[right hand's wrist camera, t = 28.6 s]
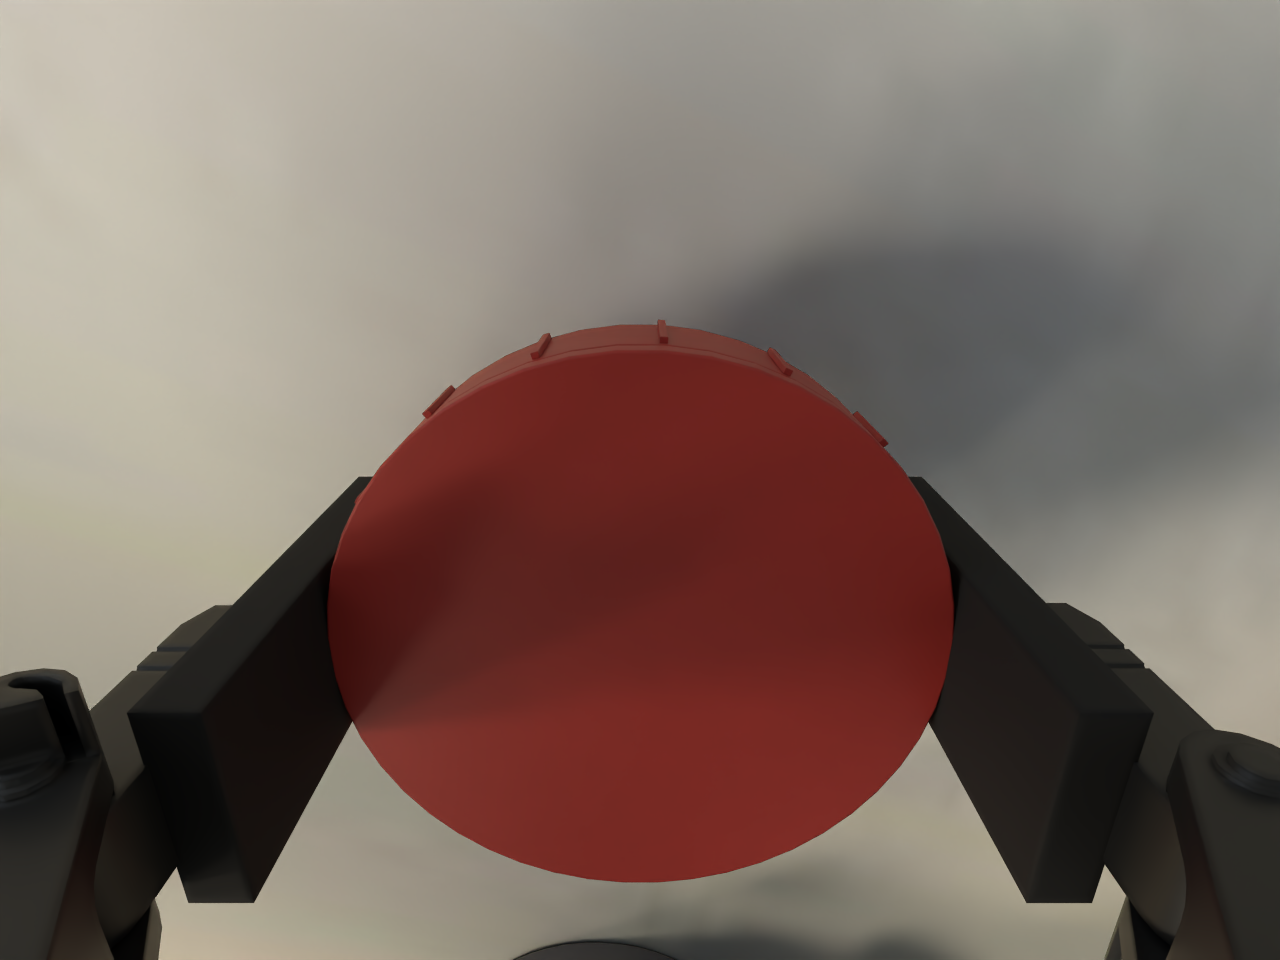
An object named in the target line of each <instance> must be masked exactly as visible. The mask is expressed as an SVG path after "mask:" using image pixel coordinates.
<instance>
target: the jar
mask: <svg viewBox="0 0 1280 960" xmlns="http://www.w3.org/2000/svg"><path fill="white" fill-rule="evenodd" d="M515 960H675V959H673V958H671V957H668V956H665V955H663V954H660V953H658V952H655V951H651V950H647V949H644V948H640V947H635V946H630V945H624V944H615V943H603V942H598V943H575V944H565V945H560V946H555V947H550V948H546V949H542V950H539V951H536V952H532V953H529V954H527V955H525V956H522V957H520V958H517V959H515Z"/></svg>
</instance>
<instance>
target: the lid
mask: <svg viewBox="0 0 1280 960" xmlns="http://www.w3.org/2000/svg"><path fill="white" fill-rule="evenodd" d="M423 416H424V417H425V419H424V420H423V421H422V422H421V423H420V424H419V425H418V426H417V427H416V429H415V430H414V431H413V432H412V433H411V434H410V435H409V436H408V437H407V438H406V439H405V440H404V441H403V442H402V443H401V445H400V446H399V447H398V448H397V449H396V450H395V451H394V452H393V453H392V454H391V455H390V456H389V457H388V459H387V460H386V461H385V462H384V463H383V464H382V465H381V466H380V467H379V469H378V470H377V472H376V473H375V475H374V476H373V478H372V479H371V481H370V482H369V484H368V485H367V487H366V488H365V489H364V490H363V491H362V492H361V493H360V495H359V496H358V497H357V498H356V500H355V507H354V509H353V511H352V513H351V515H350V517H349V519H348V521H347V524H346V526H345V528H344V530H343V532H342V534H341V538H340V541H339V545H338V548H337V552H336V555H335V558H334V562H333V565H332V569H331V576H330V584H329V592H328V600H327V625H328V640H329V646H330V651H331V656H332V661H333V667H334V672H335V677H336V681H337V684H338V687H339V690H340V693H341V696H342V699H343V701H344V704H345V707H346V709H347V711H348V713H349V715H350V717H351V719H352V721H353V723H354V725H355V727H356V729H357V731H358V733H359V735H360V736H361V738H362V740H363V741H364V743H365V744H366V745H367V747H368V748H369V750H370V751H371V753H372V754H373V755H374V757H375V758H376V760H377V761H378V763H379V764H380V765H381V767H382V768H383V769H384V770H385V771H386V772H387V773H388V774H389V775H390V777H391V778H392V779H393V780H394V781H395V782H396V783H397V784H398V785H399V787H400V788H401V789H402V790H403V791H404V792H405V793H406V794H408V795H409V796H410V797H411V798H412V799H413V800H415V801H416V802H417V803H418V804H419V805H420V806H421V807H423V808H424V809H425V810H426V811H427V812H428V813H430V814H431V815H432V816H434V817H435V818H437V819H438V820H440V821H441V822H443V823H444V824H446V825H447V826H448V827H450V828H451V829H453V830H454V831H456V832H457V833H459V834H461V835H463V836H465V837H466V838H468V839H470V840H472V841H474V842H476V843H478V844H479V845H481V846H483V847H485V848H487V849H489V850H491V851H494V852H496V853H499V854H501V855H504V856H506V857H508V858H511V859H513V860H516V861H518V862H521V863H524V864H528V865H531V866H534V867H538V868H541V869H544V870H548V871H551V872H555V873H560V874H565V875H570V876H575V877H581V878H586V879H594V880H604V881H615V882H666V881H677V880H688V879H695V878H701V877H706V876H711V875H716V874H722V873H727V872H730V871H734V870H737V869H740V868H744V867H747V866H751V865H754V864H757V863H761V862H763V861H766V860H768V859H771V858H773V857H775V856H778V855H780V854H783V853H785V852H788V851H790V850H793V849H794V848H796V847H798V846H800V845H802V844H804V843H806V842H808V841H809V840H811V839H813V838H815V837H817V836H819V835H821V834H823V833H824V832H826V831H827V830H829V829H830V828H831V827H833V826H834V825H836V824H837V823H839V822H840V821H842V820H843V819H845V818H846V817H848V816H849V815H851V814H852V813H853V812H854V811H855V810H856V809H858V808H859V807H860V806H861V805H862V804H863V803H865V802H866V801H867V800H868V799H869V798H870V797H872V796H873V795H874V794H875V793H876V792H877V791H878V790H879V789H880V788H881V787H882V786H883V785H884V784H885V783H886V781H887V780H888V779H889V778H890V777H891V776H892V775H893V774H894V773H895V772H896V770H897V769H898V768H899V767H900V766H901V765H902V763H903V762H904V760H905V759H906V757H907V756H908V755H909V753H910V752H911V750H912V749H913V747H914V746H915V745H916V743H917V742H918V740H919V739H920V737H921V735H922V733H923V731H924V729H925V727H926V725H927V724H928V722H929V720H930V718H931V716H932V714H933V712H934V710H935V708H936V705H937V702H938V699H939V697H940V694H941V691H942V688H943V685H944V681H945V677H946V671H947V666H948V661H949V656H950V650H951V645H952V639H953V632H954V598H953V590H952V582H951V574H950V568H949V565H948V561H947V558H946V554H945V551H944V547H943V544H942V540H941V537H940V534H939V532H938V530H937V527H936V525H935V523H934V521H933V519H932V517H931V515H930V513H929V510H928V508H927V506H926V504H925V502H924V500H923V498H922V497H921V495H920V494H919V492H918V491H917V489H916V488H915V486H914V485H913V483H912V482H911V480H910V479H909V478H908V476H907V475H906V473H905V472H904V470H903V469H902V467H901V466H900V465H899V464H898V463H897V462H896V461H895V459H894V458H893V457H892V456H891V455H890V454H889V453H888V452H887V451H886V450H885V449H884V447H885V446H886V445H887V444H888V442H887V441H886V440H885V439H884V438H883V437H882V436H881V435H880V434H879V433H878V432H877V431H876V430H875V429H874V428H873V427H872V426H871V425H870V424H869V423H868V422H867V421H866V419H865V418H864V417H863V416H862V415H861V414H860V413H859V412H858V411H857V412H855V413H854V414H853V415H852V414H851V413H850V411H849V410H848V409H847V408H846V407H845V406H844V405H843V404H842V403H841V402H840V401H839V400H838V399H837V398H836V397H835V396H833V395H832V394H831V393H830V392H828V391H827V390H826V389H825V388H823V387H822V386H821V385H820V384H818V383H817V382H816V381H815V380H814V379H812V378H811V377H810V376H809V375H807V374H805V373H803V372H802V371H800V370H798V369H797V368H795V367H793V366H792V365H790V364H788V363H787V362H785V361H784V359H783V358H782V357H781V356H780V355H779V353H778V352H777V351H776V350H774V349H772V348H769V350H768V352H765V351H763V350H761V349H758V348H756V347H753V346H751V345H749V344H746V343H744V342H742V341H739V340H735V339H732V338H728V337H724V336H721V335H717V334H713V333H710V332H706V331H702V330H696V329H689V328H681V327H674V326H666V322H665V320H658V324H657V325H615V326H607V327H600V328H592V329H585V330H579V331H575V332H571V333H568V334H564V335H560V336H557V337H553V338H551V335H550V333H547V334H544V335H543V336H542V337H541V339H540V340H539V341H538V342H537V343H535V344H532V345H530V346H528V347H525V348H523V349H521V350H518V351H516V352H513V353H511V354H509V355H506V356H504V357H503V358H501V359H499V360H498V361H496V362H494V363H493V364H491V365H489V366H488V367H486V368H484V369H483V370H481V371H479V372H478V373H476V374H474V375H473V376H471V377H470V378H469V379H468V380H466V381H465V382H464V383H463V384H461V385H460V386H459V387H458V388H457V389H455V388H454V387H453V386H452V385H451V386H450V387H448V388H447V389H446V390H445V391H444V392H443V393H442V394H441V395H440V396H439V397H438V398H437V399H436V400H435V401H434V402H433V403H432V404H431V405H430V406H429V407H428V408H427V409H426V410H425V411H424V412H423Z"/></svg>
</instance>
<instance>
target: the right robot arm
mask: <svg viewBox="0 0 1280 960" xmlns="http://www.w3.org/2000/svg"><path fill="white" fill-rule="evenodd" d="M372 478H373V477H358V478H357V479H356V480H355V481H354V482H353V483H352V484H351V485H350V486H349V487H348V488H347V489H346V490H345V492H344V493H343V494H342V495H341V496H340V497H339V498H338V499H337V500H336V501H335V502H334V503H333V504H332V505H331V506H330V507H329V508H328V509H327V510H326V511H325V512H324V513H323V514H322V515H321V516H320V517H319V518H318V519H317V520H316V521H315V522H314V523H313V524H312V525H311V526H310V527H309V528H308V529H307V530H306V531H305V532H304V533H303V534H302V535H301V536H300V537H299V538H298V539H297V540H296V541H295V542H294V543H293V544H292V545H291V546H290V547H289V548H288V549H287V550H286V551H285V552H284V553H283V554H282V555H281V556H280V557H279V559H278V560H277V561H276V562H275V563H274V564H273V565H272V566H271V567H270V568H269V569H268V570H267V571H266V572H265V573H264V574H263V575H262V576H261V577H260V578H259V579H258V580H257V581H256V582H255V583H254V584H253V585H252V586H251V587H250V588H249V589H248V590H247V591H246V592H245V593H244V594H243V595H242V596H241V597H240V598H239V599H238V600H237V601H236V602H235V603H234V604H233V605H215V606H213V607H212V608H210V609H208V610H206V611H204V612H203V613H201V614H199V615H197V616H196V617H194V618H192V619H190V620H188V621H187V622H185V623H183V624H181V625H180V626H179V627H178V628H177V629H176V630H175V631H174V632H173V633H172V634H171V635H170V636H169V637H167V638H166V639H165V640H164V641H163V642H162V643H161V644H160V645H159V646H158V647H157V652H152V653H151V654H149V655H148V656H147V657H146V658H145V659H144V660H143V661H142V662H141V663H140V664H139V665H138V666H137V671H131V672H130V673H129V674H128V675H127V676H126V677H125V678H124V679H123V680H122V681H121V682H120V683H119V684H118V685H117V686H116V687H115V688H113V689H112V690H111V691H110V692H109V693H108V694H107V695H106V696H105V697H104V698H103V699H102V700H101V701H100V702H99V703H98V704H96V705H95V706H94V707H93V708H92V709H91V710H90V711H89V709H88V707H87V704H86V701H85V698H84V695H83V692H82V689H81V686H80V684H79V681H78V678H77V677H75V676H74V675H72V674H70V673H69V672H67V671H65V670H56V669H44V668H43V669H36V670H29V671H21V672H15V673H11V674H8V675H5V676H1V677H0V960H158V956H159V948H160V940H161V931H162V925H161V919H160V913H159V910H158V907H157V904H156V901H155V897H156V896H157V895H158V893H159V892H160V890H161V889H162V887H163V886H164V884H165V883H166V881H167V880H168V879H169V877H170V876H171V874H172V873H173V871H174V870H175V868H176V867H177V869H178V872H179V875H180V878H181V881H182V884H183V887H184V890H185V894H186V897H187V900H188V903H254V902H255V900H256V898H257V896H258V894H259V892H260V891H261V889H262V887H263V885H264V883H265V881H266V879H267V878H268V876H269V874H270V872H271V870H272V868H273V867H274V865H275V863H276V861H277V859H278V857H279V856H280V854H281V852H282V850H283V848H284V846H285V844H286V843H287V841H288V839H289V837H290V835H291V833H292V832H293V830H294V828H295V826H296V824H297V822H298V821H299V819H300V817H301V815H302V813H303V811H304V809H305V808H306V806H307V804H308V802H309V800H310V798H311V797H312V795H313V793H314V791H315V789H316V787H317V786H318V784H319V782H320V780H321V778H322V776H323V774H324V773H325V771H326V769H327V767H328V765H329V763H330V762H331V760H332V758H333V756H334V754H335V752H336V751H337V749H338V747H339V745H340V743H341V741H342V739H343V738H344V736H345V734H346V732H347V730H348V728H349V727H350V725H351V723H352V719H351V717H350V715H349V713H348V711H347V709H346V707H345V704H344V701H343V699H342V696H341V693H340V690H339V687H338V684H337V681H336V677H335V672H334V667H333V661H332V656H331V651H330V646H329V640H328V625H327V600H328V592H329V584H330V576H331V569H332V565H333V562H334V558H335V555H336V552H337V548H338V545H339V541H340V538H341V534H342V532H343V530H344V528H345V526H346V524H347V521H348V519H349V517H350V515H351V513H352V511H353V509H354V507H355V500H356V498H357V497H358V496H359V495H360V493H361V492H362V491H363V490H364V489H365V488H366V487H367V485H368V484H369V482H370V481H371V479H372ZM908 478H909V479H910V480H911V482H912V483H913V485H914V486H915V488H916V489H917V491H918V492H919V494H920V495H921V497H922V498H923V500H924V502H925V504H926V506H927V508H928V510H929V513H930V515H931V517H932V519H933V521H934V523H935V525H936V527H937V530H938V532H939V534H940V537H941V540H942V544H943V547H944V551H945V554H946V558H947V561H948V565H949V568H950V574H951V582H952V590H953V598H954V632H953V639H952V645H951V650H950V656H949V661H948V666H947V671H946V677H945V681H944V685H943V688H942V691H941V694H940V697H939V699H938V702H937V705H936V708H935V710H934V712H933V714H932V716H931V718H930V720H929V724H930V726H931V728H932V729H933V731H934V733H935V735H936V737H937V739H938V740H939V742H940V744H941V746H942V748H943V750H944V751H945V753H946V755H947V757H948V759H949V761H950V763H951V764H952V766H953V768H954V770H955V772H956V774H957V775H958V777H959V779H960V781H961V783H962V785H963V786H964V788H965V790H966V792H967V794H968V796H969V798H970V799H971V801H972V803H973V805H974V807H975V809H976V810H977V812H978V814H979V816H980V818H981V820H982V821H983V823H984V825H985V827H986V829H987V831H988V833H989V834H990V836H991V838H992V840H993V842H994V844H995V845H996V847H997V849H998V851H999V853H1000V855H1001V857H1002V858H1003V860H1004V862H1005V864H1006V866H1007V868H1008V869H1009V871H1010V873H1011V875H1012V877H1013V879H1014V880H1015V882H1016V884H1017V886H1018V888H1019V890H1020V892H1021V893H1022V895H1023V897H1024V899H1025V901H1026V903H1092V901H1093V898H1094V895H1095V892H1096V889H1097V886H1098V883H1099V880H1100V877H1101V874H1102V871H1103V868H1104V865H1106V867H1107V868H1108V869H1109V871H1110V872H1111V874H1112V875H1113V877H1114V878H1115V880H1116V881H1117V883H1118V884H1119V885H1120V887H1121V888H1122V890H1123V891H1124V893H1125V894H1126V898H1125V901H1124V904H1123V907H1122V910H1121V912H1120V915H1119V918H1118V921H1117V924H1116V927H1115V930H1114V932H1113V935H1112V938H1111V941H1110V944H1109V947H1108V950H1107V952H1106V955H1105V959H1104V960H1280V748H1278V747H1276V746H1274V745H1272V744H1270V743H1267V742H1264V741H1261V740H1258V739H1255V738H1252V737H1249V736H1246V735H1243V734H1239V733H1233V732H1227V731H1220V730H1215V729H1214V728H1213V727H1211V726H1210V725H1209V724H1208V723H1207V722H1206V721H1205V720H1204V719H1203V718H1202V717H1201V716H1200V715H1199V714H1198V713H1196V712H1195V711H1194V710H1193V709H1192V708H1191V707H1190V706H1189V705H1188V704H1187V703H1186V702H1185V701H1184V700H1183V699H1182V698H1180V697H1179V696H1178V695H1177V694H1176V693H1175V692H1174V691H1173V690H1172V689H1171V688H1170V687H1169V686H1168V685H1167V684H1166V683H1164V682H1163V681H1162V680H1161V679H1160V678H1159V677H1158V676H1157V675H1156V674H1155V673H1154V672H1153V671H1152V670H1151V669H1150V668H1145V667H1144V663H1143V662H1142V661H1141V660H1140V659H1139V658H1138V657H1137V656H1136V655H1135V654H1134V653H1132V652H1131V651H1130V650H1129V649H1125V648H1124V644H1123V643H1122V642H1121V641H1120V640H1119V639H1118V638H1116V637H1115V636H1114V635H1113V634H1112V633H1111V632H1110V631H1109V630H1108V629H1107V628H1106V627H1105V626H1104V625H1103V624H1102V623H1100V622H1099V621H1097V620H1095V619H1093V618H1092V617H1090V616H1088V615H1086V614H1084V613H1083V612H1081V611H1079V610H1077V609H1076V608H1074V607H1072V606H1070V605H1068V604H1067V603H1045V602H1044V601H1043V600H1042V599H1041V598H1040V597H1039V596H1038V595H1037V594H1036V593H1035V592H1034V590H1033V589H1032V588H1031V587H1030V586H1029V585H1028V584H1027V583H1026V582H1025V581H1024V580H1023V579H1022V578H1021V577H1020V576H1019V575H1018V574H1017V573H1016V572H1015V571H1014V570H1013V569H1012V568H1011V567H1010V566H1009V565H1008V564H1007V563H1006V562H1005V561H1004V560H1003V559H1002V558H1001V557H1000V556H999V555H998V554H997V553H996V552H995V551H994V550H993V549H992V548H991V547H990V546H989V545H988V544H987V543H986V542H985V541H984V540H983V539H982V538H981V537H980V536H979V535H978V534H977V533H976V532H975V531H974V530H973V529H972V528H971V527H970V526H969V525H968V523H967V522H966V521H965V520H964V519H963V518H962V517H961V516H960V515H959V514H958V513H957V512H956V511H955V510H954V509H953V508H952V507H951V506H950V505H949V504H948V503H947V502H946V501H945V500H944V499H943V498H942V497H941V496H940V495H939V494H938V493H937V492H936V491H935V490H934V489H933V488H932V487H931V486H930V485H929V484H928V483H927V482H926V481H925V480H924V479H923V478H922V477H908Z"/></svg>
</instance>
